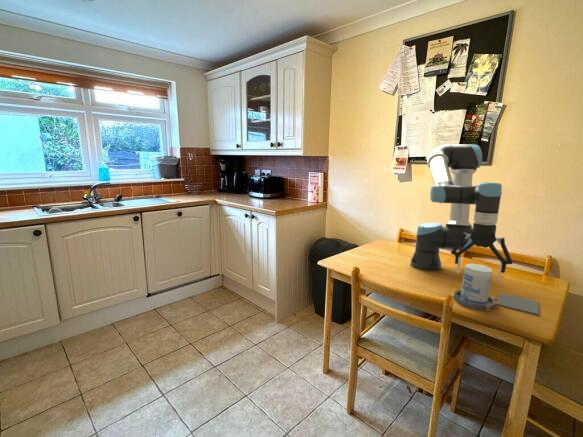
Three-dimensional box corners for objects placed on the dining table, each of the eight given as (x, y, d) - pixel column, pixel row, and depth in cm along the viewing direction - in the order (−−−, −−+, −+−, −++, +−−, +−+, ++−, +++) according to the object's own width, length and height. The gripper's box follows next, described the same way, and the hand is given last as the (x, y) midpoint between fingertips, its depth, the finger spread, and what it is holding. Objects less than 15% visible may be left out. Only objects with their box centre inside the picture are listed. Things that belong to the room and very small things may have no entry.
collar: (451, 303, 118) (451, 298, 118) (457, 291, 129) (457, 286, 129) (496, 315, 109) (497, 310, 109) (498, 301, 120) (499, 296, 120)
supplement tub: (457, 302, 119) (462, 267, 116) (462, 294, 126) (467, 261, 123) (486, 310, 113) (491, 273, 110) (489, 301, 120) (494, 267, 117)
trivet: (496, 305, 117) (496, 303, 117) (498, 293, 127) (498, 292, 127) (538, 315, 109) (539, 314, 109) (537, 302, 120) (537, 301, 119)
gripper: (446, 220, 118) (441, 271, 122) (526, 229, 103) (516, 286, 107) (450, 217, 124) (444, 266, 127) (526, 226, 109) (517, 280, 113)
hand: (477, 275), depth 117 cm, fingers open, 13 cm apart
